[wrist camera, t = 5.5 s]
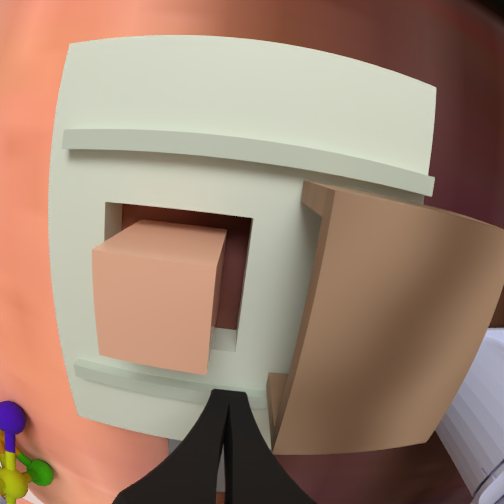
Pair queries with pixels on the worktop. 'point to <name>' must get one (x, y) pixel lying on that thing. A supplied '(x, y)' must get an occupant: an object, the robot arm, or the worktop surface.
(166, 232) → the terracotta block
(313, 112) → the puzzle board
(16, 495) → the molecular model
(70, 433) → the worktop surface
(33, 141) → the worktop surface
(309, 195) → the walnut cover
